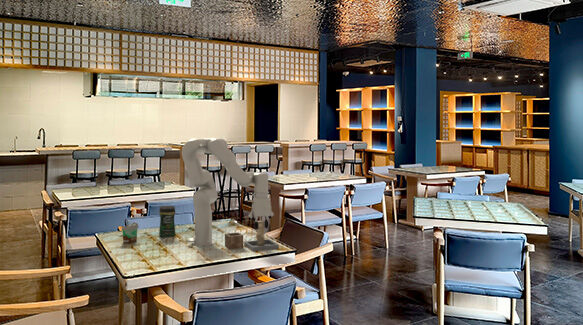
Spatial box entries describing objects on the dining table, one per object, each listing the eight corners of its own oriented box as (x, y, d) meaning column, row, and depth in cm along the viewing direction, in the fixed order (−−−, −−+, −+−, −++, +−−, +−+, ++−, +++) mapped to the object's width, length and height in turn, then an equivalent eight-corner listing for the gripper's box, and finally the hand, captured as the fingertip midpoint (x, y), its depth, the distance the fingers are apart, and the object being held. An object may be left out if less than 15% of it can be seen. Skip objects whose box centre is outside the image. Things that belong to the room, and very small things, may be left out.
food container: (131, 244, 266) (131, 226, 265) (121, 243, 267) (121, 226, 266) (142, 239, 278) (142, 222, 277) (133, 238, 279) (133, 222, 278)
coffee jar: (159, 237, 282) (158, 207, 281) (159, 234, 290) (158, 205, 288) (175, 236, 285) (175, 206, 283) (175, 234, 292) (175, 204, 291)
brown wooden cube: (229, 251, 252) (229, 236, 251) (224, 247, 259) (224, 233, 258) (243, 249, 255) (243, 235, 254) (238, 246, 262) (238, 232, 262)
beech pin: (258, 247, 255) (258, 222, 254) (256, 246, 259) (255, 221, 258) (265, 246, 257) (265, 221, 256) (263, 245, 260) (262, 220, 260)
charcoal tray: (252, 252, 249) (252, 247, 248) (244, 246, 261) (244, 241, 261) (278, 250, 255) (278, 244, 254) (269, 244, 267) (269, 239, 267)
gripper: (248, 197, 249) (248, 231, 250) (278, 195, 256) (278, 228, 257) (244, 195, 256) (244, 228, 257) (273, 193, 263) (273, 225, 264)
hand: (261, 228), depth 257 cm, fingers open, 5 cm apart
